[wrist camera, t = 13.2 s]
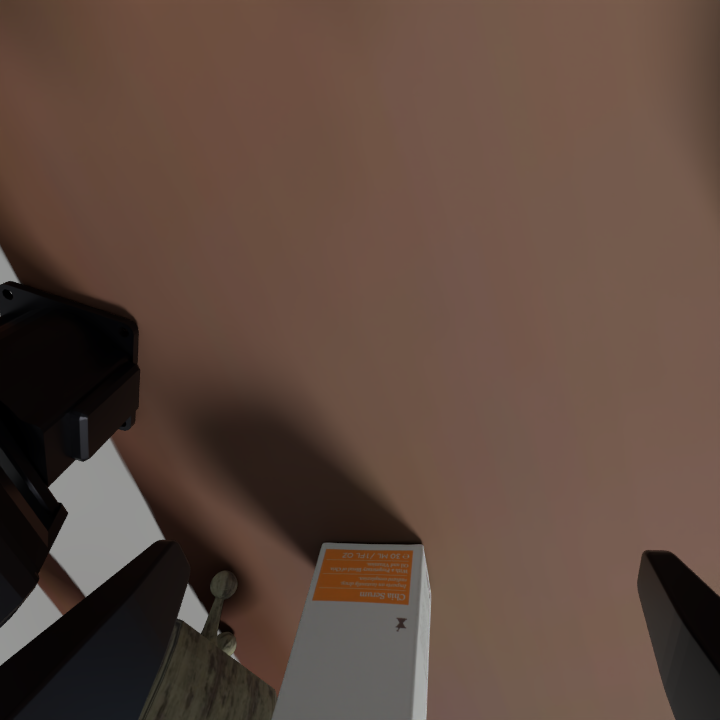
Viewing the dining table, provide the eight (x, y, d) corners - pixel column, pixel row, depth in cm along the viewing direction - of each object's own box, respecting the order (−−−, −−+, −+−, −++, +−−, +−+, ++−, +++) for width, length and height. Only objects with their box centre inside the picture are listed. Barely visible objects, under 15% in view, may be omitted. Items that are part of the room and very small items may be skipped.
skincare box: (423, 539, 26) (409, 832, 16) (432, 589, 28) (424, 879, 18) (318, 539, 27) (242, 808, 17) (333, 587, 29) (272, 854, 19)
